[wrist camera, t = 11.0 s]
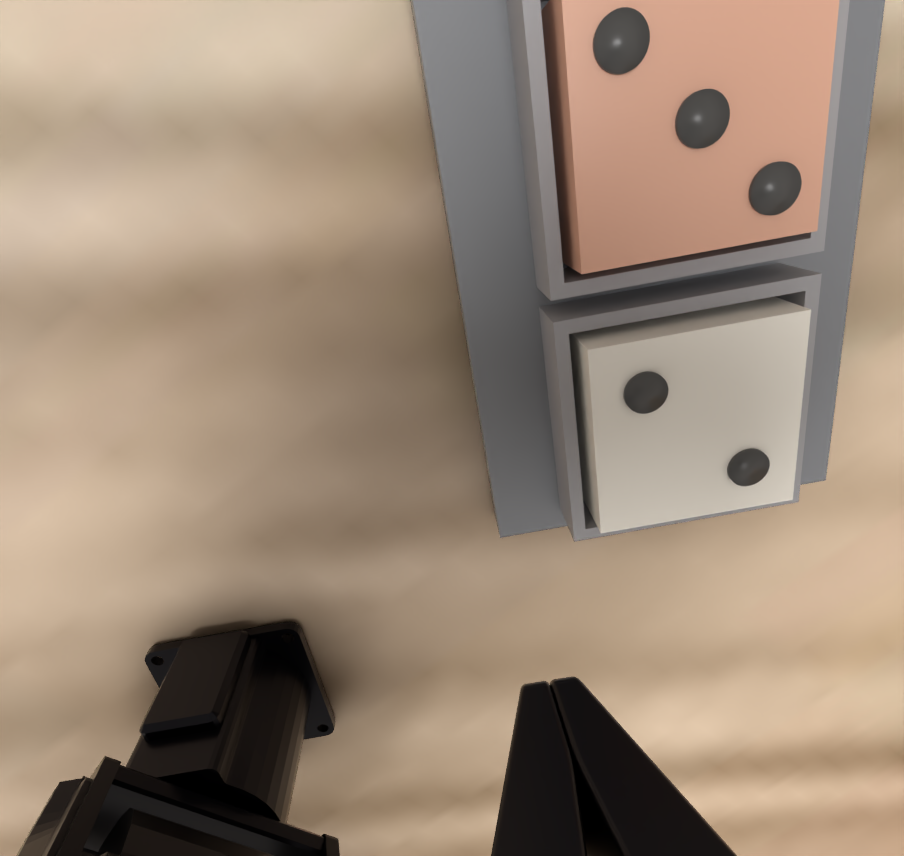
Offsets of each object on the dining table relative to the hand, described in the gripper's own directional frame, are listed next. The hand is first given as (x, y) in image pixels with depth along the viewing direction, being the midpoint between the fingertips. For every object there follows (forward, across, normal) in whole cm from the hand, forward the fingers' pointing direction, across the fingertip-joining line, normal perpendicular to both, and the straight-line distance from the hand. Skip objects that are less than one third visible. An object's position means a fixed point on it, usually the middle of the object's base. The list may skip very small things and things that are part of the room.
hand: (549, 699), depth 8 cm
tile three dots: (+11, -6, -8) cm, 15 cm away
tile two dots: (+11, -6, 0) cm, 13 cm away
